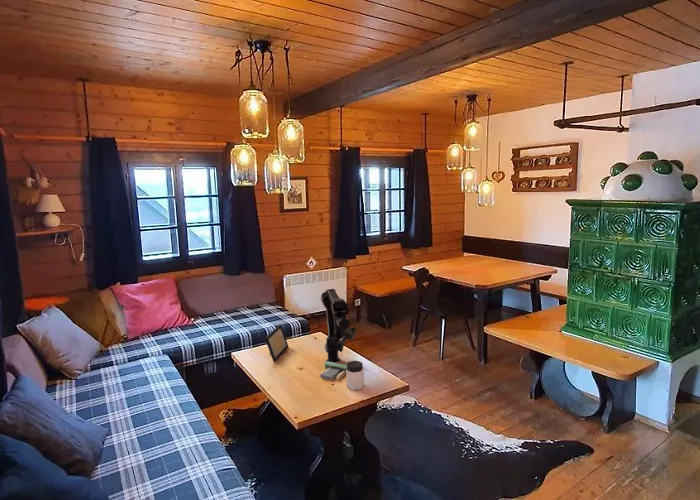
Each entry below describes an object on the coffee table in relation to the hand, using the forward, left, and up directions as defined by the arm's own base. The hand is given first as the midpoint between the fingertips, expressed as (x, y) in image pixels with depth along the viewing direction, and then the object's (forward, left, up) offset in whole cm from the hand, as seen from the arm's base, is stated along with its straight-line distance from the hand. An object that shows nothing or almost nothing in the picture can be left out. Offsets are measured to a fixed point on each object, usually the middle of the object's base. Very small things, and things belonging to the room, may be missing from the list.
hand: (341, 351), depth 232 cm
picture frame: (-8, -52, -13) cm, 54 cm away
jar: (+9, +13, -13) cm, 21 cm away
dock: (+2, -4, -13) cm, 14 cm away
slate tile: (+2, -5, -14) cm, 14 cm away
